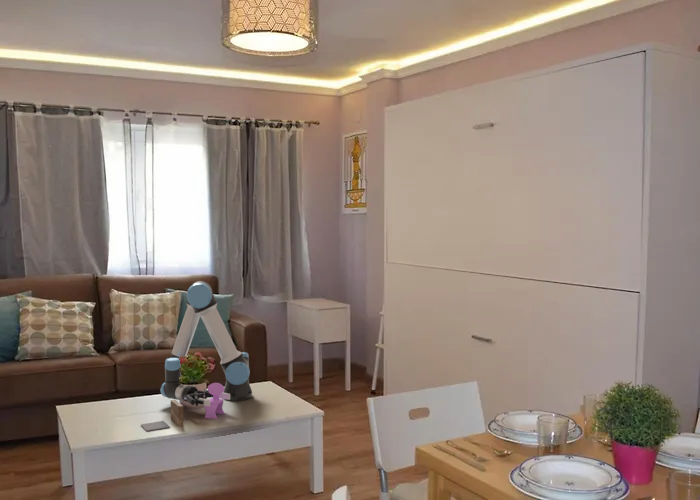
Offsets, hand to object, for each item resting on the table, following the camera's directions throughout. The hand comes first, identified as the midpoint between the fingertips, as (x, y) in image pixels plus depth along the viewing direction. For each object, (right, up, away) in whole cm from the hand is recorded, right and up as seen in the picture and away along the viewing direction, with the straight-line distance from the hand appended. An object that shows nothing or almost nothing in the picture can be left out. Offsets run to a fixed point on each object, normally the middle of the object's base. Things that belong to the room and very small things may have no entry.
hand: (219, 400), depth 306 cm
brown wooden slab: (-18, -8, -8) cm, 21 cm away
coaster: (-26, -9, -14) cm, 31 cm away
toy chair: (-3, -8, +2) cm, 9 cm away
